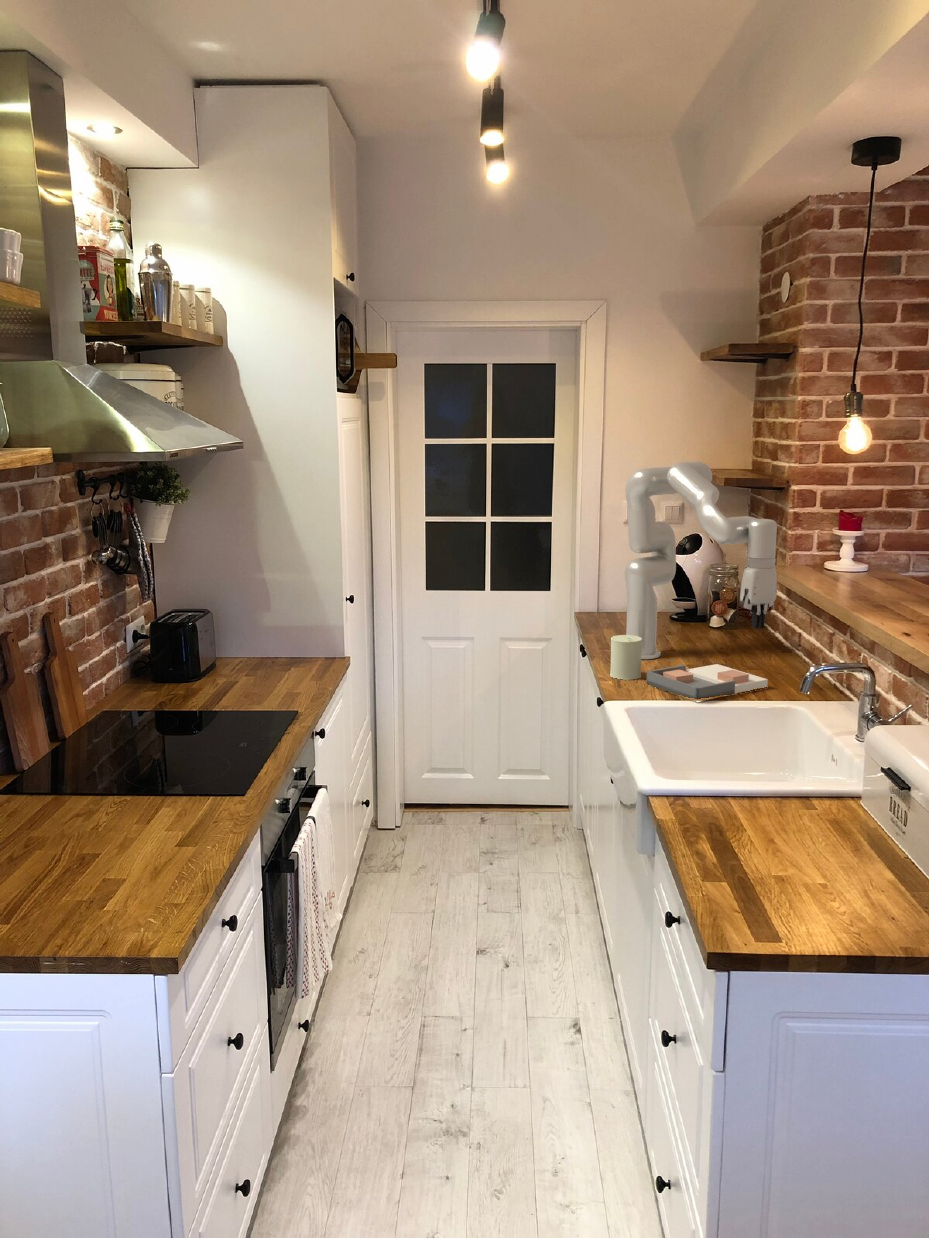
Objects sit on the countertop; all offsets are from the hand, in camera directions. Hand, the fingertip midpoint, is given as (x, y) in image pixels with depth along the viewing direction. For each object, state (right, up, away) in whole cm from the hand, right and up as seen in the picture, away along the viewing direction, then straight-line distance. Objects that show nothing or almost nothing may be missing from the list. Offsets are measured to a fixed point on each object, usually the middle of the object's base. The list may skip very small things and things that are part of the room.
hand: (757, 627), depth 275 cm
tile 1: (-22, -15, +4) cm, 27 cm away
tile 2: (-7, -15, -1) cm, 17 cm away
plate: (-8, -16, +5) cm, 19 cm away
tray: (-20, -18, -1) cm, 26 cm away
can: (-35, -15, +14) cm, 41 cm away
